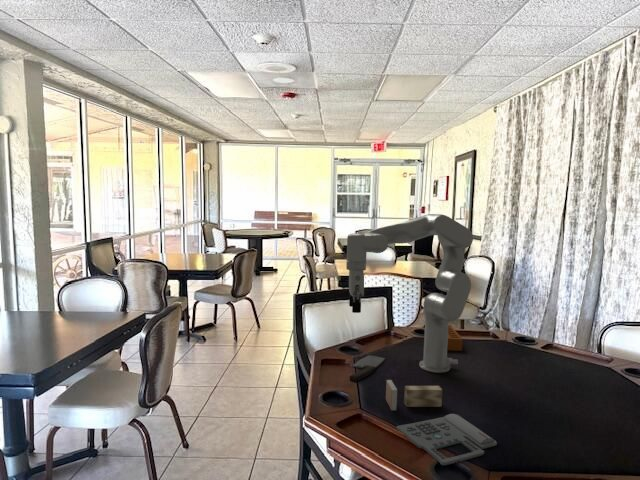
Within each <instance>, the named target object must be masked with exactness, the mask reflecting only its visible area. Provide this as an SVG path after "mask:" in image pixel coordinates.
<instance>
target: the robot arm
mask: <svg viewBox="0 0 640 480" xmlns="http://www.w3.org/2000/svg"><path fill="white" fill-rule="evenodd" d="M429 236H437V240H438V242H439V243H440V246H441V247H442V252H443V255H442V260H441V264H440V266H439V269H438V272H437V274H436V276H435V277H436V278H435V283H434V285H435V286H436V288H437V289H438V290H439V291H442V292H445V293H446V294H443V293H440V292H432V293H429V294H427V296H426V297H425V298H424V300H423V312H424V334H423V335H424V338H423V339H424V340H423V358H422V360H420V361H419V363H418V364H419V368H420V369H422V370H424V371H427V372H429V373H437V374H442V373H447V372H449V371H450V370H451V365H458V364H459V360H458V359H453V357H448V350H447V344H448V325H449V323H450V322H451V323H453V322H456V321H458V320H459V319H460V318H461V316H462V314H463V313H464V310H465V308H466V307H465V306H466V303H467V301H468V298H469V295H470V294H471V290H472V289H471V288H472V281H471V279H470V277H469V276H468V275H467V274H466V273H464V272H462V269H463V266H464V262H465V253H464V251H463V250H464V249H467V248H470V246H471V245H472V244H473V241H474V235H473V232H472V231H471V230H470V229H469V228H468V227H466V226H465V225H463V224H462V223H460V222H458V221H457V220H455V219H453V218H451V217H449V216H448V215H445V214H441V213H439V214H438V213H437V214H436V213H430V214H429V213H428V214H424V215H421V216H418V217H416V218H412V219H409V220H405V221H403V222H399V223H394V224H391V225H387V226H382V227H381V226H380V227H378V228H375V229H372V230H369V231H365V232H364V233H350V234H348V235H347V238H346V241H347V242H346V265H345V266H346V270H347V271H348V291H349V302H348V306H349V307H351V309H352V310H351V312H352V313H353V314H358V313H359V314H360V313H361V312H362V300H361V299H362V298H361V297H364V296H365V274H364V273H365V272H364V271H366V270H367V253H373V254H380V253H384V252H385V251H386V250H388V247H389V245H390V244H391V245H393V244H406V243H412V242H415V241H417V240H420V239H423V238H427V237H429Z"/></svg>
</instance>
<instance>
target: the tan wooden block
mask: <svg viewBox="0 0 640 480" xmlns="http://www.w3.org/2000/svg"><path fill="white" fill-rule="evenodd" d="M442 399H443V388H442V387H441V386H440V385H404V397H403V403H404V405H405V406H406V408H409V407H410V408H412V407H413V408H414V407H415V408H418V407H420V408H422V407H423V408H424V407H427V408H429V407H430V408H432V407H434V408H435V407H437V408H438V407H439V408H441V407H442V405H443V404H442V401H443V400H442Z"/></svg>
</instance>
